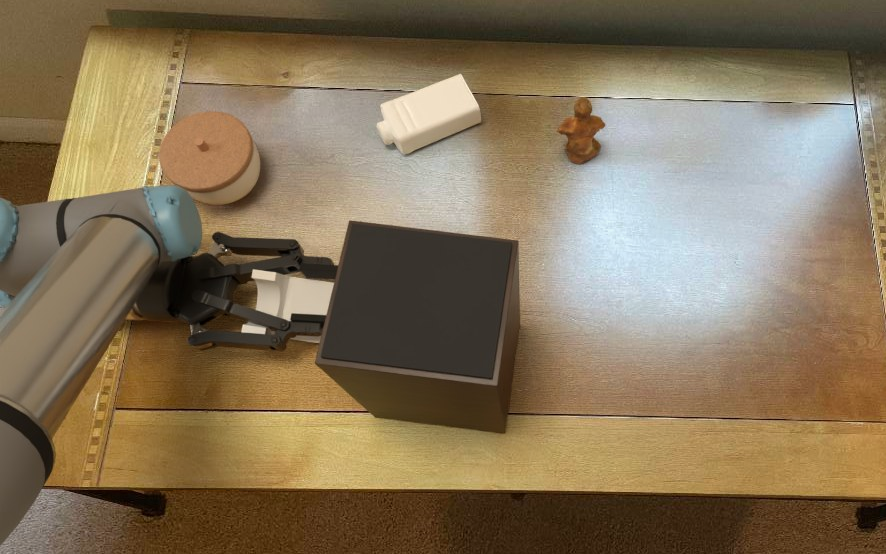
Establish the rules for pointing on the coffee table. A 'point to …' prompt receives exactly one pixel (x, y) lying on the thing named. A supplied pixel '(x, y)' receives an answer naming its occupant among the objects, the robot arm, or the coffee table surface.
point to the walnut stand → (431, 391)
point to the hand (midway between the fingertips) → (356, 298)
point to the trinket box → (211, 157)
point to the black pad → (419, 301)
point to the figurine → (581, 132)
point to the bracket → (289, 299)
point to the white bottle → (428, 114)
